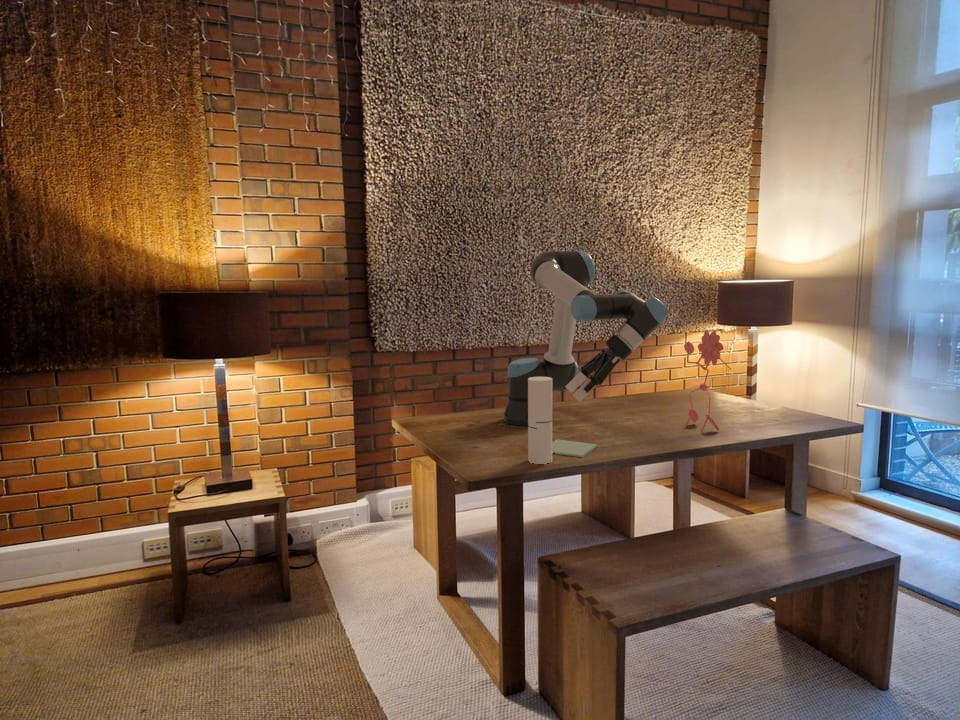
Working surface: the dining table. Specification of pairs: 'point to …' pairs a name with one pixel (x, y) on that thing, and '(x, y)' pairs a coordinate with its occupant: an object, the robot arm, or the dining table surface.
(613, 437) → the dining table surface
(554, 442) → the rubber mat
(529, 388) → the cylindrical container
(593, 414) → the dining table surface
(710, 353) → the figurine
